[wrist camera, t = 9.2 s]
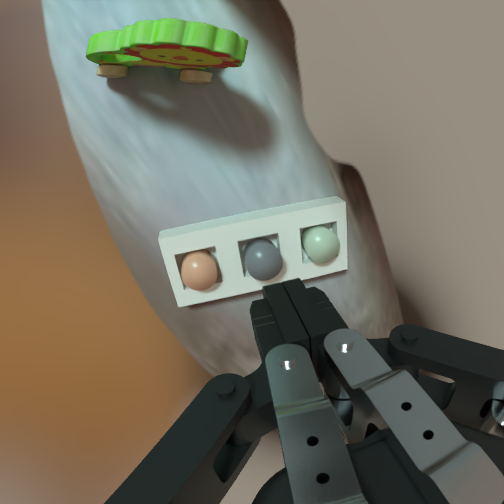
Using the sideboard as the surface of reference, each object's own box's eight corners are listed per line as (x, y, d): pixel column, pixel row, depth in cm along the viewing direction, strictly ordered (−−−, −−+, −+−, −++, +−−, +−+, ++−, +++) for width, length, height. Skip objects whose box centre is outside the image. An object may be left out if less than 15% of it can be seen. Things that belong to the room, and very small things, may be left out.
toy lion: (100, 79, 31) (49, 64, 18) (107, 38, 29) (64, 3, 15) (228, 89, 35) (250, 74, 21) (236, 48, 33) (262, 12, 19)
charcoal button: (240, 241, 41) (244, 252, 38) (274, 234, 41) (280, 244, 38) (245, 272, 42) (250, 284, 40) (278, 264, 43) (284, 276, 40)
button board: (160, 230, 41) (158, 239, 38) (336, 195, 43) (345, 201, 40) (178, 295, 45) (178, 307, 42) (339, 259, 47) (347, 268, 45)
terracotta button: (178, 252, 41) (177, 263, 38) (211, 244, 41) (213, 255, 38) (186, 281, 43) (186, 293, 40) (218, 274, 43) (220, 286, 40)
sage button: (299, 226, 42) (307, 235, 39) (329, 220, 43) (339, 228, 40) (301, 256, 44) (309, 266, 41) (331, 249, 45) (340, 259, 42)
